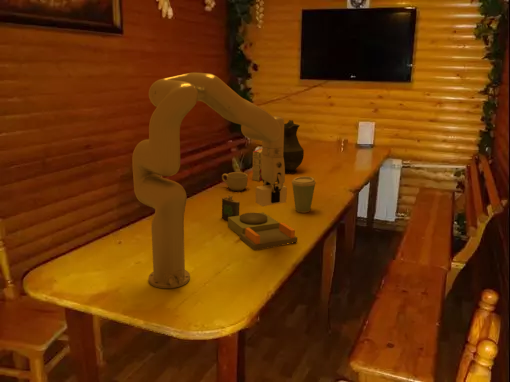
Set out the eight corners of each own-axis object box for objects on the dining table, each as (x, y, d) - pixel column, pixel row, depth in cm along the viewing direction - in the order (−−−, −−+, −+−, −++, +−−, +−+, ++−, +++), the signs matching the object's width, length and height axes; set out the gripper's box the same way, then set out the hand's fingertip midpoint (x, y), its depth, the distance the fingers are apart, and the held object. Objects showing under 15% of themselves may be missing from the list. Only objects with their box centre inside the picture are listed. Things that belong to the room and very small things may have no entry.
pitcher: (272, 174, 278) (273, 123, 270) (276, 166, 298) (278, 118, 289) (301, 176, 275) (304, 124, 267) (304, 168, 295) (306, 119, 287)
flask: (240, 221, 198) (240, 197, 195) (235, 223, 196) (236, 198, 193) (224, 216, 203) (224, 192, 201) (219, 218, 201) (219, 194, 198)
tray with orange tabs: (297, 242, 177) (297, 229, 175) (254, 250, 169) (254, 236, 168) (265, 220, 199) (265, 209, 198) (225, 226, 191) (225, 214, 190)
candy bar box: (260, 176, 273) (260, 148, 268) (268, 177, 271) (268, 148, 266) (251, 180, 263) (252, 151, 259) (259, 181, 261) (260, 152, 257)
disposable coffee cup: (304, 215, 207) (306, 182, 202) (285, 210, 214) (286, 178, 209) (318, 210, 214) (320, 178, 210) (299, 205, 221) (301, 174, 217)
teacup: (251, 188, 247) (251, 174, 244) (239, 193, 238) (239, 178, 235) (229, 184, 254) (229, 170, 251) (217, 189, 245) (217, 174, 243)
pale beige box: (286, 202, 174) (287, 186, 172) (262, 206, 169) (262, 190, 167) (279, 198, 178) (280, 183, 176) (255, 202, 173) (255, 186, 171)
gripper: (294, 155, 162) (292, 205, 167) (270, 146, 177) (269, 192, 182) (275, 157, 159) (273, 208, 164) (252, 147, 174) (252, 195, 179)
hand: (271, 199), depth 173 cm, fingers closed on pale beige box, 5 cm apart
